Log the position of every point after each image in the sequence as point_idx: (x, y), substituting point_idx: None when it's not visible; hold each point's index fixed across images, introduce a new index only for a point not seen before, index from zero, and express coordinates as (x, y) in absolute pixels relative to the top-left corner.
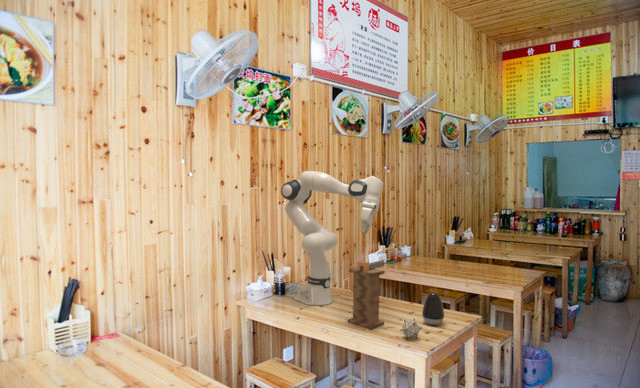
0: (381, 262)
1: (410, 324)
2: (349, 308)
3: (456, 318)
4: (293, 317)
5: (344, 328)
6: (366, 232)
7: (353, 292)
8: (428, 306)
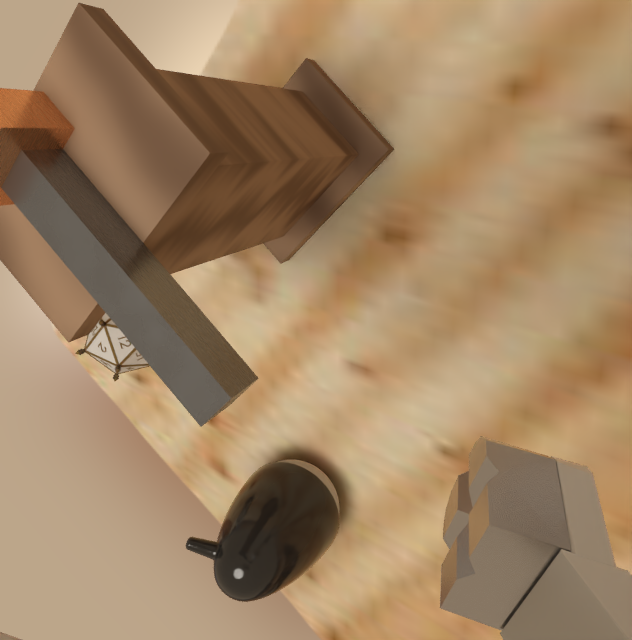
0: (171, 383)
1: (90, 336)
2: (607, 93)
3: (368, 618)
4: None
5: (233, 36)
6: (454, 536)
7: (211, 78)
8: (235, 503)
